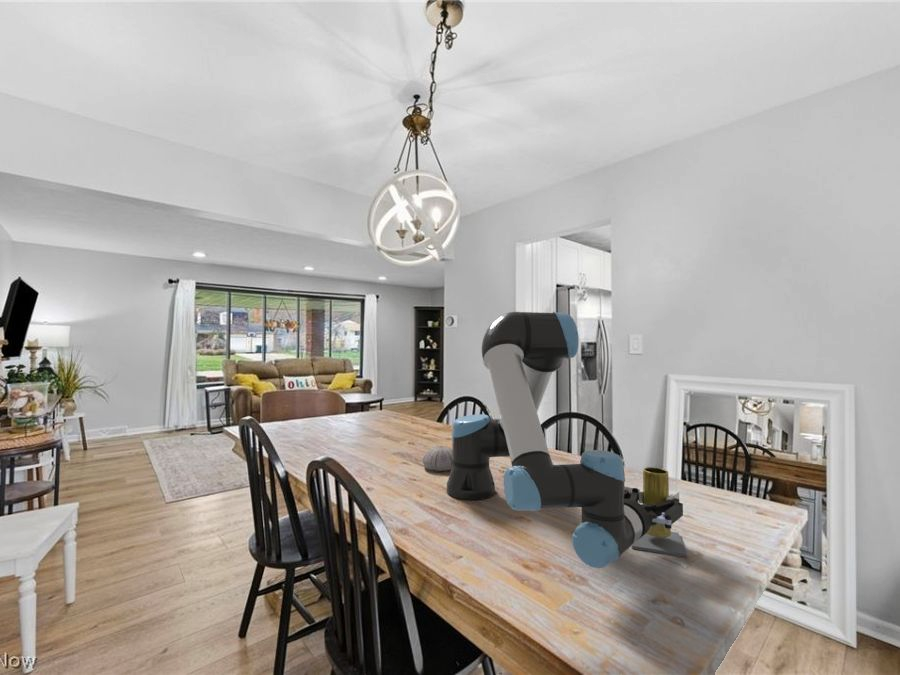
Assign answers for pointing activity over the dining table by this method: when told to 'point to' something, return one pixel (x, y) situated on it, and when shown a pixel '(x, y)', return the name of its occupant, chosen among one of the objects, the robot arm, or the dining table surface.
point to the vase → (656, 495)
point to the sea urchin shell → (438, 459)
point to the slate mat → (662, 544)
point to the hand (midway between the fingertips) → (663, 493)
